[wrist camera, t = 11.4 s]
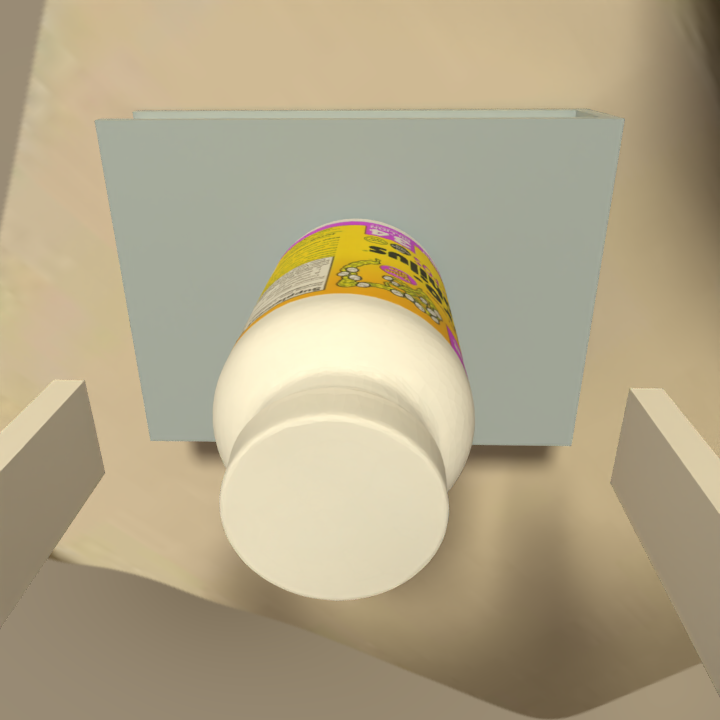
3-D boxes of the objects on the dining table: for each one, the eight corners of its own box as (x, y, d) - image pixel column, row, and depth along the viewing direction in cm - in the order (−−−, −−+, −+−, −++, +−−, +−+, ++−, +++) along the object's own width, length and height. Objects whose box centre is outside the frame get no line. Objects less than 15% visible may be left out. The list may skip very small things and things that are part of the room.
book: (587, 108, 25) (624, 118, 21) (547, 396, 31) (571, 445, 27) (138, 110, 26) (94, 120, 22) (179, 393, 31) (150, 440, 27)
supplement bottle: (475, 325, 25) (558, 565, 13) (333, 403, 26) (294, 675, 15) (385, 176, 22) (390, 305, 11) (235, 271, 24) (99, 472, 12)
